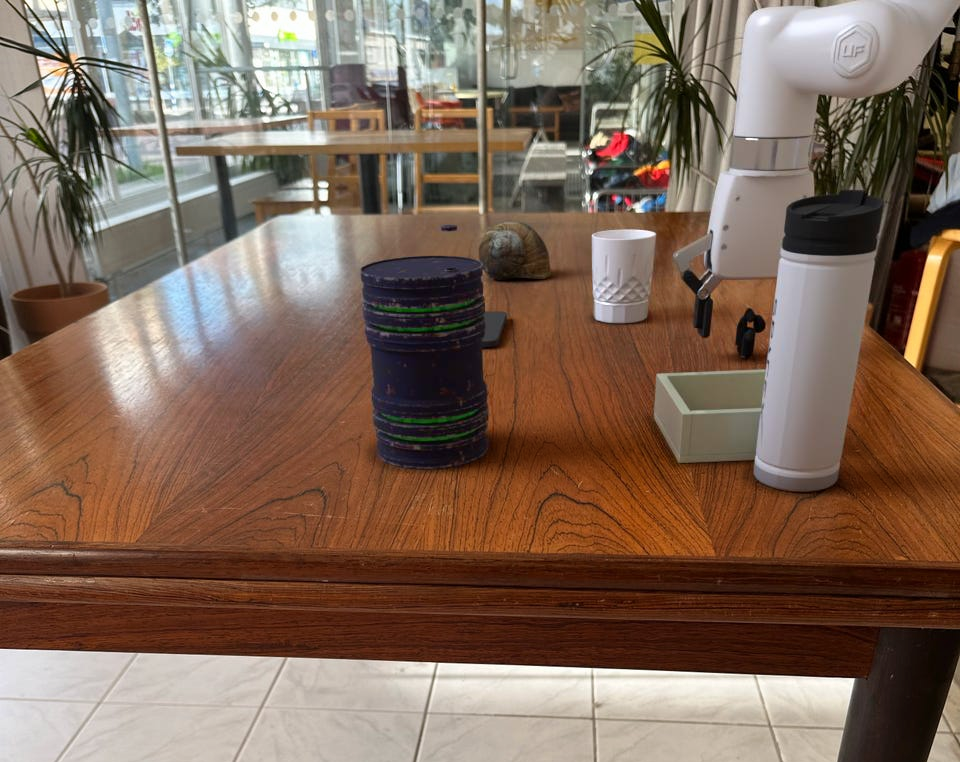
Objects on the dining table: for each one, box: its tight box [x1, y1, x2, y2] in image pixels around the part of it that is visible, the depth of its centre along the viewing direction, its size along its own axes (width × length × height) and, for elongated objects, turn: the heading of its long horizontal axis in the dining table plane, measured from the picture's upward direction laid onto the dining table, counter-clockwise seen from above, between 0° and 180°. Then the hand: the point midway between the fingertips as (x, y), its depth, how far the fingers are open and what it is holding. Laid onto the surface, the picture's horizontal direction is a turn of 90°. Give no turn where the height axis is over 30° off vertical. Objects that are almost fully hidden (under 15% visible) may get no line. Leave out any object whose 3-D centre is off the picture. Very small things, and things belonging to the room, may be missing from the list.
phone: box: [482, 310, 508, 348], centre depth 116 cm, size 7×1×15 cm
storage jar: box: [359, 224, 490, 470], centre depth 77 cm, size 10×10×18 cm
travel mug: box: [753, 188, 885, 493], centre depth 68 cm, size 6×7×20 cm
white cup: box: [591, 229, 657, 324], centre depth 118 cm, size 8×8×10 cm
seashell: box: [478, 220, 553, 281], centre depth 144 cm, size 11×9×8 cm
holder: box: [653, 368, 766, 464], centre depth 80 cm, size 12×12×4 cm
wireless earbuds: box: [734, 307, 767, 360], centre depth 102 cm, size 7×2×5 cm, turn 174°
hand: (747, 333), depth 102 cm, fingers open, 9 cm apart
